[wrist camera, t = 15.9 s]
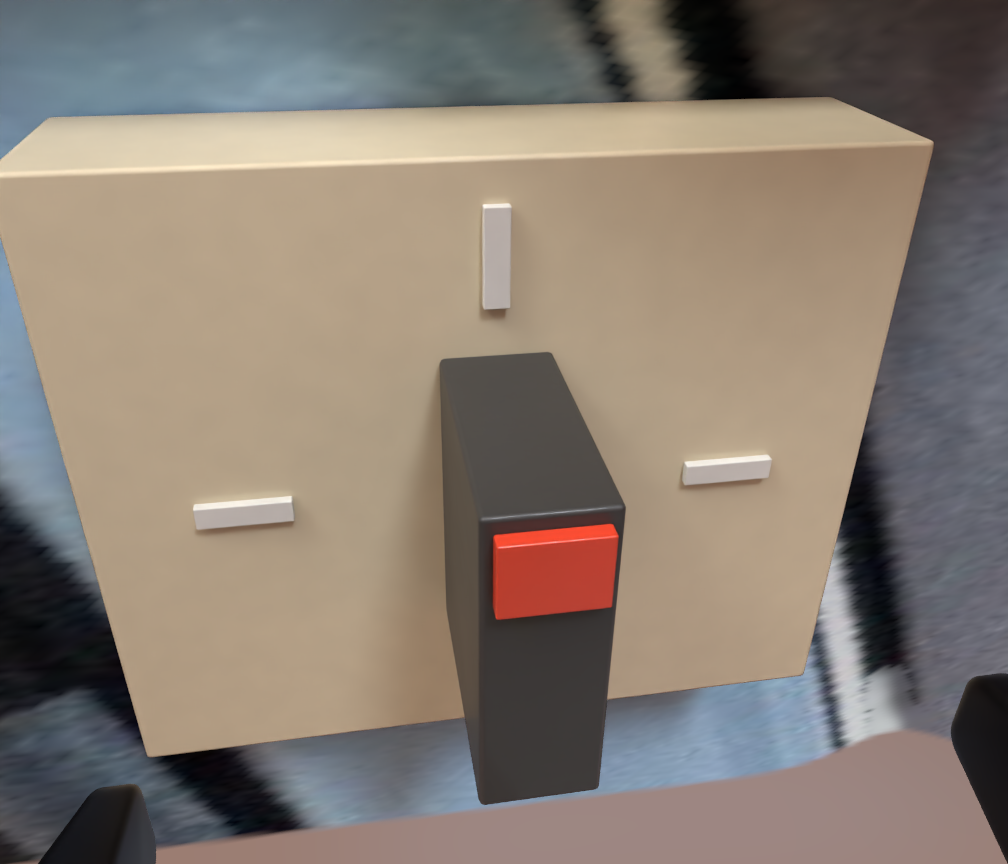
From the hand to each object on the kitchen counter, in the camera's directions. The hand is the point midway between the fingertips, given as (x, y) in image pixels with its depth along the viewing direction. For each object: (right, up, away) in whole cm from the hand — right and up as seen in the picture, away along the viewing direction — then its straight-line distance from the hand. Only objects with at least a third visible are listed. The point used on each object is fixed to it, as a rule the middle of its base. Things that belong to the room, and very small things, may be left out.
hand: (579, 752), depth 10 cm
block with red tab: (-1, +3, +4) cm, 5 cm away
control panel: (-1, +4, +7) cm, 8 cm away
